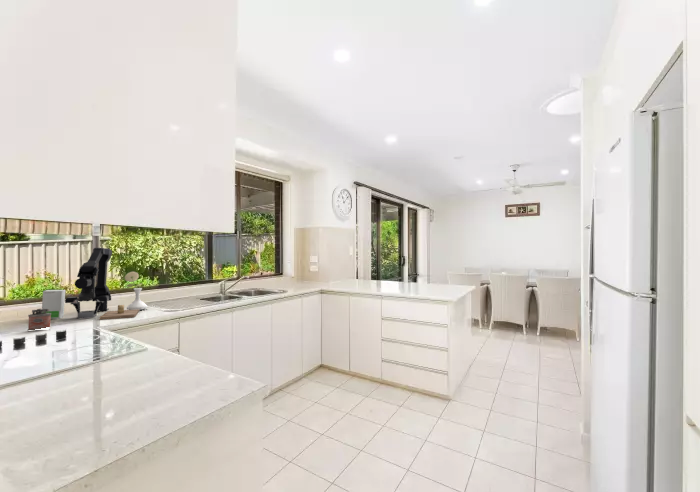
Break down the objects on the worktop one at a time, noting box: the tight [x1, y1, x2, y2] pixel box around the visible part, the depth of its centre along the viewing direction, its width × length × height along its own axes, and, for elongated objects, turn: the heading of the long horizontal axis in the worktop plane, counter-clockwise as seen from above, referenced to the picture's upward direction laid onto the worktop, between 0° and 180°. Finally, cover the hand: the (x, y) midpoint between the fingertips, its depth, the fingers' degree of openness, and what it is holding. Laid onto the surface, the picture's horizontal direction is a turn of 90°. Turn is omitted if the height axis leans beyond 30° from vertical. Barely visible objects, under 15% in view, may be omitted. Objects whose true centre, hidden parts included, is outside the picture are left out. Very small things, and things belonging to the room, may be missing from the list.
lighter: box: [27, 308, 52, 331], centre depth 149 cm, size 8×3×10 cm, turn 114°
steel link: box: [76, 310, 97, 320], centre depth 180 cm, size 7×7×3 cm
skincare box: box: [41, 289, 66, 320], centre depth 177 cm, size 8×7×16 cm
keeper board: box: [98, 304, 140, 321], centre depth 186 cm, size 20×16×6 cm
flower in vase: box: [124, 271, 148, 311], centre depth 205 cm, size 13×11×25 cm
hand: (87, 314), depth 180 cm, fingers closed on steel link, 7 cm apart
